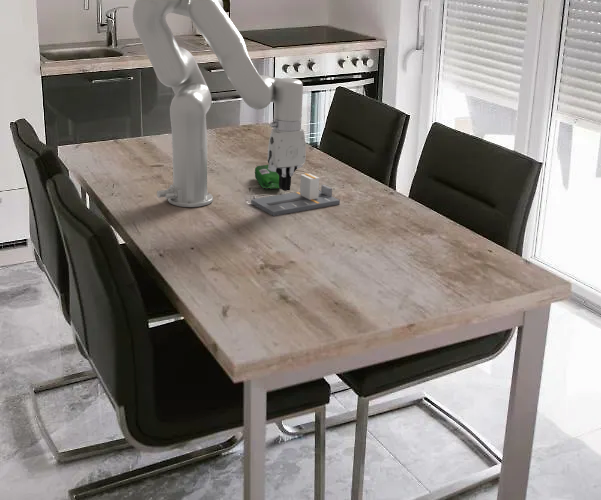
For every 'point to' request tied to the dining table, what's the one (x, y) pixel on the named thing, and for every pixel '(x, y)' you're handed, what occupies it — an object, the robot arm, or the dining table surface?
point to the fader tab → (309, 186)
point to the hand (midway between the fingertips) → (284, 189)
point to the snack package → (266, 177)
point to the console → (295, 202)
